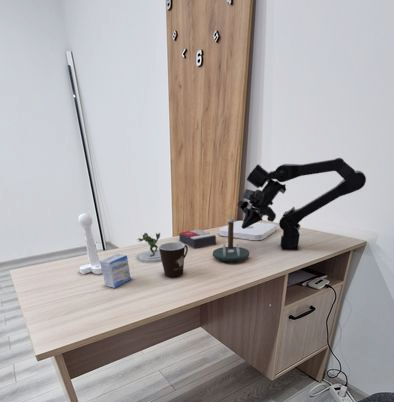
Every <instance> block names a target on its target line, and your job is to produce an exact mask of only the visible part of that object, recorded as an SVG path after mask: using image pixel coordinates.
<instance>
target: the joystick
mask: <svg viewBox="0 0 394 402" xmlns="http://www.w3.org/2000/svg"><path fill="white" fill-rule="evenodd" d="M77 221H78V224H79V225H80V227H82V229H83V233H84V240H85V246H86V253H87V258H88V263H86V264H83V265H80V266H78V269H79V273H80V274H81V275H86V274H89V273H93V274H94V275H103V273H102V269H101V264H100V261H101V260H100V257H99V254H98V251H97V246H96V243H95V239H94V235H93V232H92V229H91V226H92V225H93V218H92V217H91V216H90V214H88V213H81V214H79V216H78V218H77Z"/></svg>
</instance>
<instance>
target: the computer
mask: <svg viewBox="0 0 394 402" xmlns="http://www.w3.org/2000/svg"><path fill="white" fill-rule="evenodd" d="M243 221H244V220H236V221H235V220H234V227H233V239H234V238H235V239H243V240H250V241H262V240H264V239H265V238H267V237H269V236H270V235H272V234H273V233H275V232H276V231H277V225H276V224H274V223H268V222H267V223H266V222H260V221H259V222H256V223H254V224H252V225H250V226H249V227H247V228H245V229H243V228H242V224H243ZM219 235H220V236H222V237H226V238H228V224H227V225H225V226H223V227H220V228H219Z"/></svg>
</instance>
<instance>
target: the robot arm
mask: <svg viewBox="0 0 394 402" xmlns="http://www.w3.org/2000/svg"><path fill="white" fill-rule="evenodd" d="M330 172H331V173H332V172H335V173H336V174H338V175H339V176H340V177H341V178H342V180H341V181H340V182H339V183H338V184H337V185H335V186H333V187H332V188H331V189H329V190H328V191H326V192H324V193H322V194H321V195H319V196H317V197H316V198H314V199H313V200H311V201H310V202H308V203H306V204H305V205H303V206H301V207H299V208H295V206H292V207H291V208H290V209H289V210H287V211H284V212H283V214H282V217H281V218H280V220H279V222H278V223H279V224H278V226H279V228H280V229H281V230H282V235H281V236H280V243H279V245H280V248H281V250H282V251H283V250H284V251H286V250H287V251H298V250H299V242H300V234H301V233H300V229H301V224H299V223H300V222H301V221H303V219H304V218H307V217H308V216H310V215H311V214H313V213H315V212H317V211H319V210H320V209H322V208H323V207H325V206H326V205H328V204H330V203H332V202H333V201H335V200H337V199H338V198H341V197H343V196H346V195H349V194H352V193H354V192H357V191H359V190H361V189H363V188H364V187H365V185H366V182H367V178H366V175H365V173H364V172H363V171H361V170H355V169H354V168H353V167H352V166H350V165H349V163H347V162H346V161H345V160H344V159H343V158H342V157H337V158H334V159H332V158H331V159H326V160H321V161H315V162H308V163H302V164H298V163H283V164H280V165H279V166H278V167H276V169H275V170H271V171H267V170H266V169H264V167H262V166H261V165H260V164H256V166H255V167H254V168H253V169H252V170H251V172H249V174H248V176H247V178H246V181H247V182H249V183H250V184H251V185H253V186H254V187H255V188H256V189H255V190H252V189H247V188H245V190H244V192H243V195H242V199H241V200H239V201H238V202H237V204H236V206H237V207H238V208H239V209H240V210H241V211H242V212H243V214H245V215H244V218H243V220H242V221H243V224H242V228H243V229H245V228H247V227H249V226H250V225H252V224H254V223H256V222H259V223H260V222H262V221H263V218H264V216H266V217H267V221H268V222H270V223H273V222H274V221H275V219H276V218H277V213H276V212H275V211H274V210H273V208H272V207H271V206H273V204H274V202H273V201H274V199H275V198H276V197H277V195H278V194H279V193H281V194H283V195H284V194H285V193H286V191H287V187H286V184H282V183H285V182H288V181H290V180H294V179H296V178H299V177H304V176H309V175H316V174H324V173H330ZM259 188H261V189H262V190H261V189H259ZM243 199H246V200H243Z"/></svg>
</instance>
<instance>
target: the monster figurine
mask: <svg viewBox="0 0 394 402" xmlns="http://www.w3.org/2000/svg"><path fill="white" fill-rule="evenodd" d="M141 236H142V238H141V237H138V238H137V239H136V241H137V242H139V243H142V242H143V241H145V243H147V244H148V246H149V250H145V251H143V252H141V253H139V254H138V256H137V258H138V260H139V261H141V262H145V263H157V262H162V260H161V255H160V250H159V246H158V245H157V242H158V241H159V239H160V237H161V232H159V233H155V238H156V239H155V238H153V237H152V236H151V235H149V234H148V232H144V234H141ZM154 248H155V249H154Z"/></svg>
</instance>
